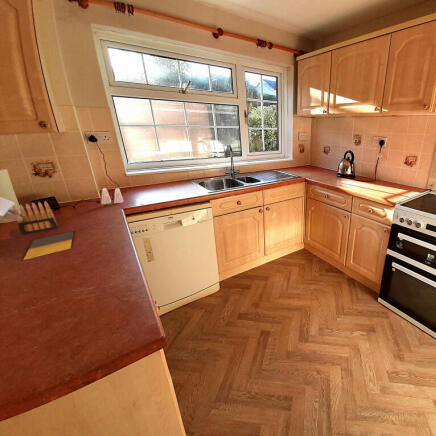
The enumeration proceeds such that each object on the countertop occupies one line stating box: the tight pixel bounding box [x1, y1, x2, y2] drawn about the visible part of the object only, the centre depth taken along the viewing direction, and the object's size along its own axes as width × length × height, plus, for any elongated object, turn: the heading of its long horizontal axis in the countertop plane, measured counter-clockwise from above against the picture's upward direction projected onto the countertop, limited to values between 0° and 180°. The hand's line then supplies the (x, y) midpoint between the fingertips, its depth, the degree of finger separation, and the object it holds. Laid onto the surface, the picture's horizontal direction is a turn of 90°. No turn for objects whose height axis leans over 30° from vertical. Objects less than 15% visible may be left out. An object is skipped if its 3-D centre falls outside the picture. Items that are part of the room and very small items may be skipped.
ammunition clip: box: [12, 200, 60, 236], centre depth 96 cm, size 11×2×12 cm, turn 128°
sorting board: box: [22, 231, 75, 261], centre depth 105 cm, size 14×22×1 cm, turn 37°
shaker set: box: [100, 187, 125, 206], centre depth 158 cm, size 12×4×11 cm, turn 128°
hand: (23, 218), depth 94 cm, fingers closed on ammunition clip, 2 cm apart
